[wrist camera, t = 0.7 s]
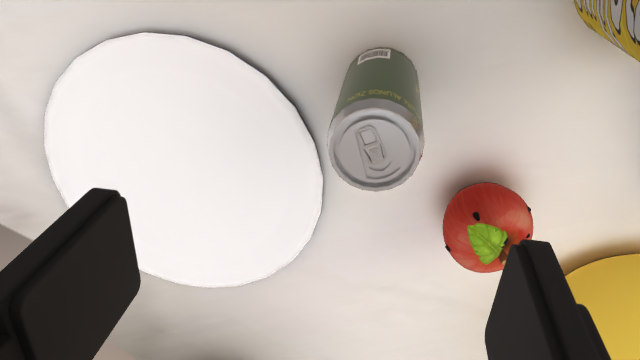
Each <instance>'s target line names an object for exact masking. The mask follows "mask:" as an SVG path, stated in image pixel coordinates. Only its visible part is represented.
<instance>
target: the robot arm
mask: <svg viewBox="0 0 640 360" xmlns="http://www.w3.org/2000/svg"><path fill="white" fill-rule="evenodd" d="M140 282H141V280H140V273H139V268H138V262H137V256H136V251H135V245H134V240H133V234H132V228H131V223H130V217H129V212H128V206H127V201H126V199H125V198H124V197H122V196H121V195H120V193H119V192H118V191H117V190H112V189H103V188H92V189H90V190H89V191H88V192H87V193H86V194H85V195H83V196H82V197H81V198H80V199H79V200H78V201H77V202H76V203H75V204H74V205H73V206H71V207H70V208H69V209H68V210H67V211H66V212H65V213H64V214H63V215H62V216H61V217H59V218H58V219H57V220H56V221H55V222H54V223H53V224H52V225H51V226H50V227H49V228H47V229H46V230H45V231H44V232H43V233H42V234H41V235H40V236H39V237H38V238H37V239H35V240H34V241H33V242H32V243H31V244H30V245H29V246H28V247H27V248H26V249H25V250H23V252H21V253H20V254H19V255H18V256H17V257H16V258H15V259H14V260H13V261H11V262H10V263H9V264H8V265H7V266H6V267H5V268H4V269H3V270H2V271H1V272H0V360H92V359H93V358H94V356H95V355H96V353H97V352H98V351H99V349H100V347H101V346H102V345H103V343H104V342H105V340H106V339H107V337H108V336H109V334H110V333H111V331H112V330H113V328H114V327H115V325H116V324H117V323H118V321H119V320H120V318H121V317H122V315H123V314H124V312H125V311H126V309H127V308H128V306H129V305H130V303H131V302H132V300H133V299H134V297H135V296H136V294H137V293H138V291H139V288H140ZM485 344H486V350H487V355H488V360H611V358H610V355H609V353H608V351H607V349H606V347H605V345H604V342H603V340H602V338H601V336H600V334H599V332H598V330H597V327H596V325H595V323H594V321H593V319H592V317H591V315H590V312H589V311H588V309H587V308H586V307H585V306H584V305H582V304H577V303H576V301H575V299H574V296H573V294H572V292H571V289H570V287H569V285H568V283H567V280H566V278H565V276H564V274H563V271H562V269H561V267H560V265H559V262H558V260H557V258H556V256H555V253H554V251H553V249H552V247H551V245H550V243H549V242H544V241H536V240H527V239H522V240H521V241H520V242H519V245H517V244H512V245H511V247H510V249H509V253H508V256H507V259H506V262H505V266H504V269H503V272H502V276H501V279H500V282H499V285H498V289H497V292H496V295H495V299H494V302H493V305H492V308H491V312H490V315H489V318H488V322H487V325H486V329H485Z"/></svg>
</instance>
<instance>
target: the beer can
mask: <svg viewBox="0 0 640 360" xmlns="http://www.w3.org/2000/svg"><path fill="white" fill-rule="evenodd" d="M327 147H328V151H329V156H330V160H331V163H332V166H333V168H334V169H335V171H336V172H337V173H338V175H339V176H340V177H341V178H342V179H343V180H345V181H346V182H347V183H348V184H350V185H352V186H354V187H357V188H359V189H362V190H368V191H383V190H390V189H392V188H394V187H396V186H398V185H401V184H402V183H404V182H405V181H406V180H407V179H408V178H409V177H410V176H411V175H412V174H413V172H414V171H415V169H416V167H417V165H418V164H419V161H420V159H421V157H422V154H423V148H424V133H423V122H422V112H421V102H420V92H419V82H418V76H417V71H416V69H415V67H414V65H413V64H412V62H411V60H409V59H408V58H407V57H406V56H405V55H404V54H403V53H401V52H398V51H396V50H394V49H391V48H375V49H371V50H367V51H366V52H364V53H362V54H361V55H359V56H358V57H357V58H356V59H355V60H354V61H353V62H352V63H351V64H350V66H349V69H348V71H347V73H346V76H345V79H344V82H343V86H342V89H341V92H340V95H339V98H338V102H337V105H336V108H335V111H334V114H333V118H332V121H331V124H330V127H329V130H328V139H327Z"/></svg>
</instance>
